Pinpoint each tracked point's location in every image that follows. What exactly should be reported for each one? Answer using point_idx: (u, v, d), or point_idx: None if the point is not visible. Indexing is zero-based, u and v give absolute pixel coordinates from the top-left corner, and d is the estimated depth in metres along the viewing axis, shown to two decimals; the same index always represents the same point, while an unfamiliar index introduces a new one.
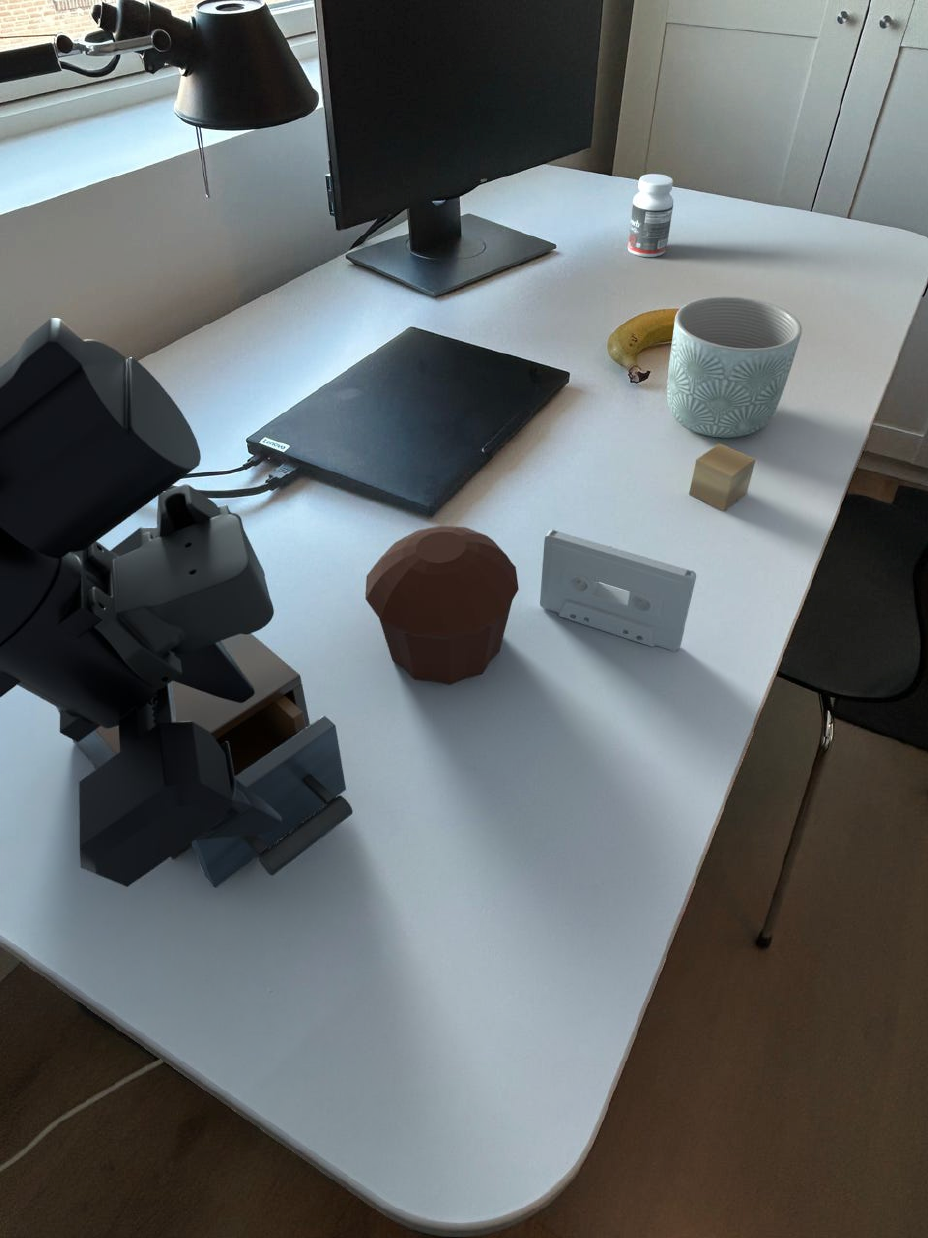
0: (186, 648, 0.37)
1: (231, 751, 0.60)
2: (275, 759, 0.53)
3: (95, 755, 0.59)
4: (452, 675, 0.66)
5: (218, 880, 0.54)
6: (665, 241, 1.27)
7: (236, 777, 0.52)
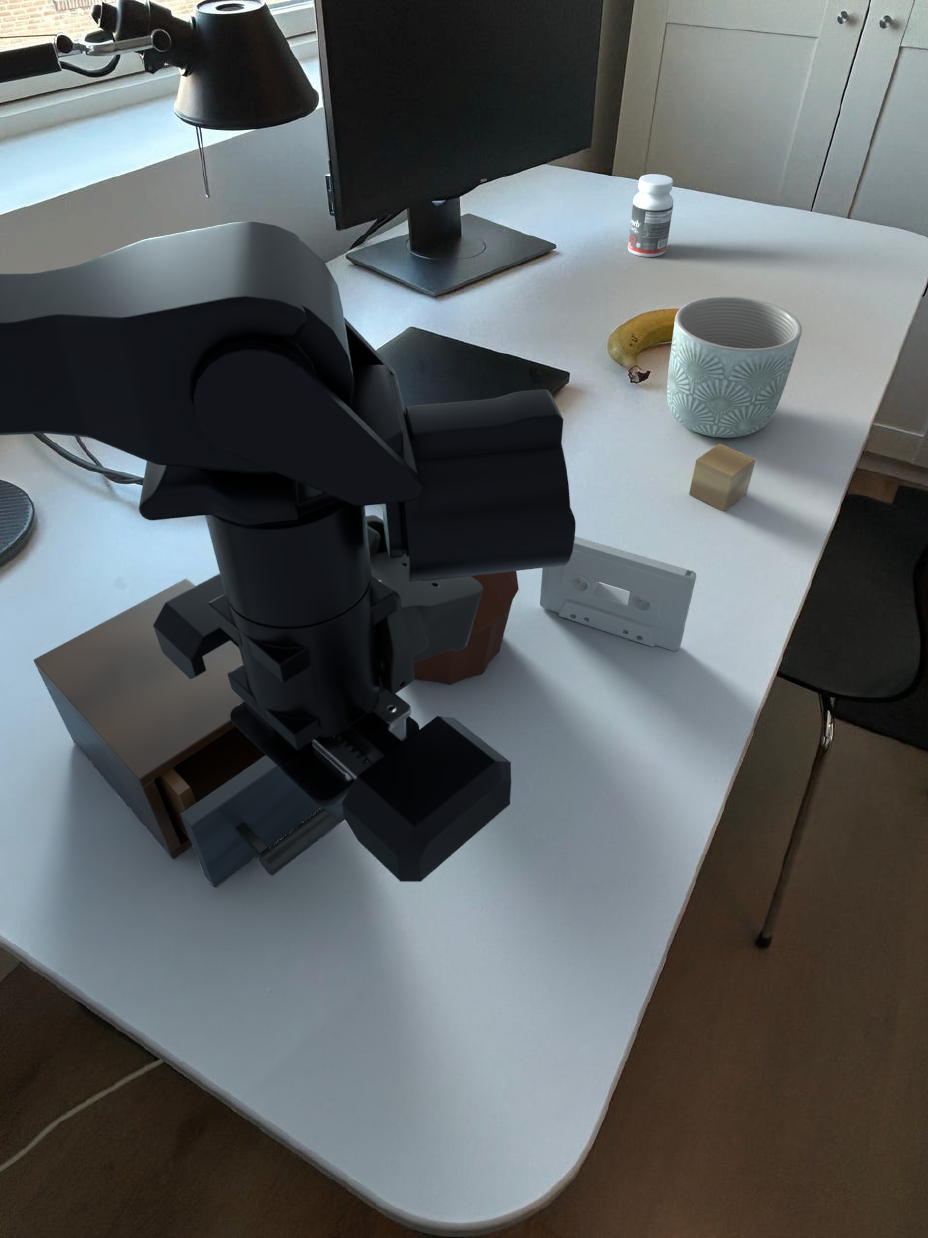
0: (420, 656, 0.39)
1: (231, 751, 0.60)
2: None
3: (95, 755, 0.59)
4: (452, 675, 0.66)
5: (218, 880, 0.54)
6: (665, 241, 1.27)
7: (236, 777, 0.52)
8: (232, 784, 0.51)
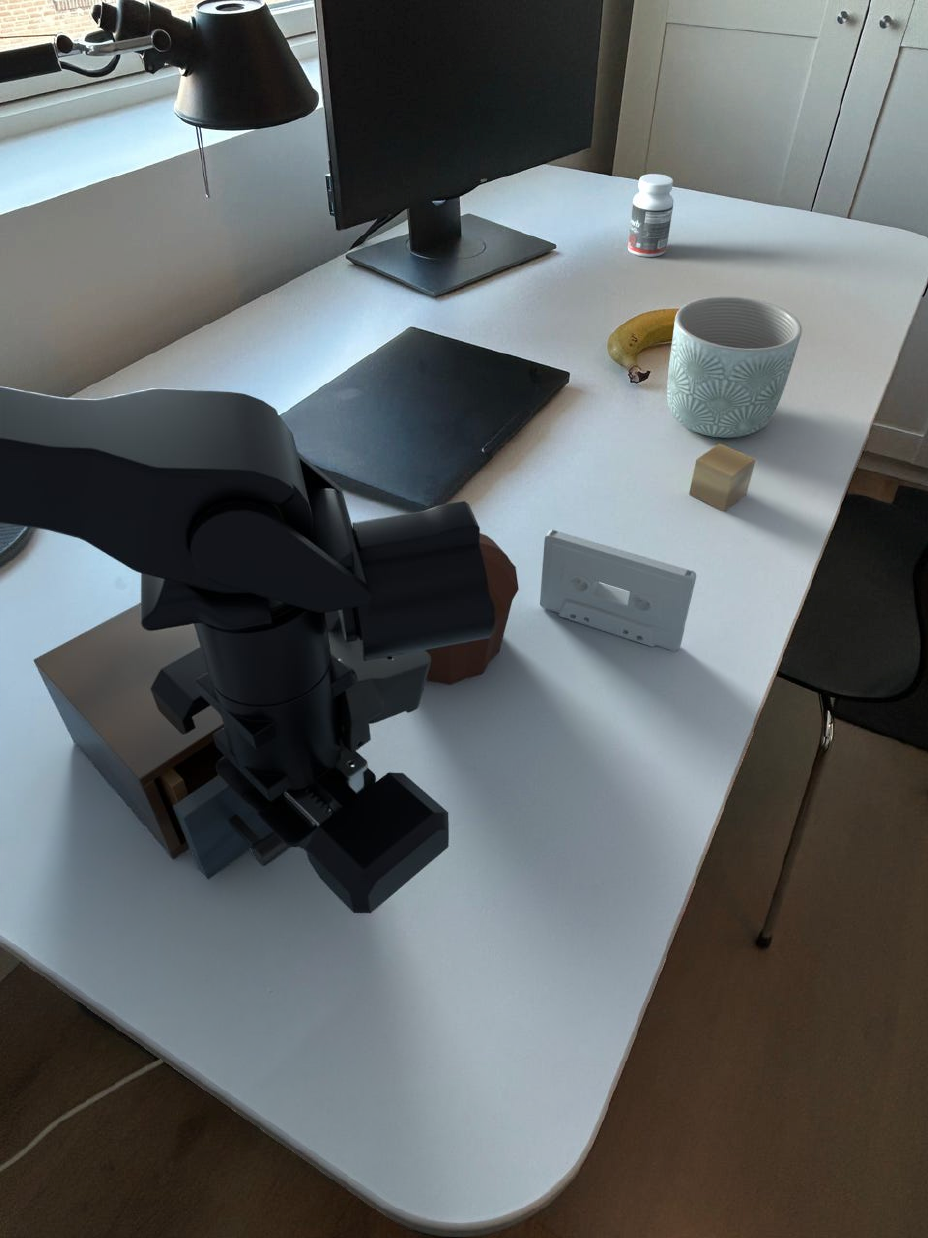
0: (376, 719, 0.46)
1: None
2: None
3: (95, 755, 0.59)
4: (452, 675, 0.66)
5: (211, 872, 0.54)
6: (665, 241, 1.27)
7: None
8: None
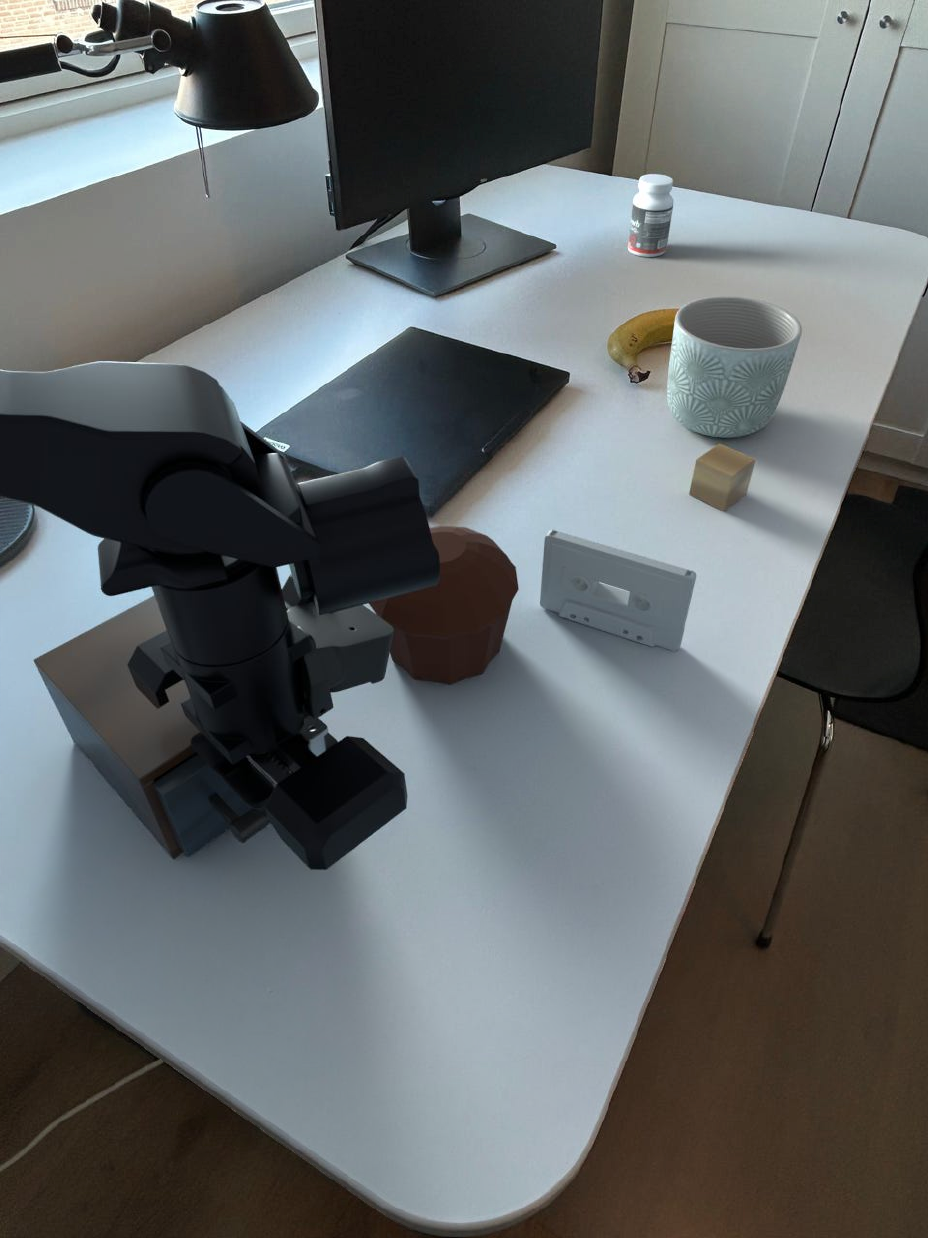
0: (338, 687, 0.47)
1: None
2: None
3: (95, 755, 0.59)
4: (452, 675, 0.66)
5: (191, 850, 0.55)
6: (665, 241, 1.27)
7: None
8: None
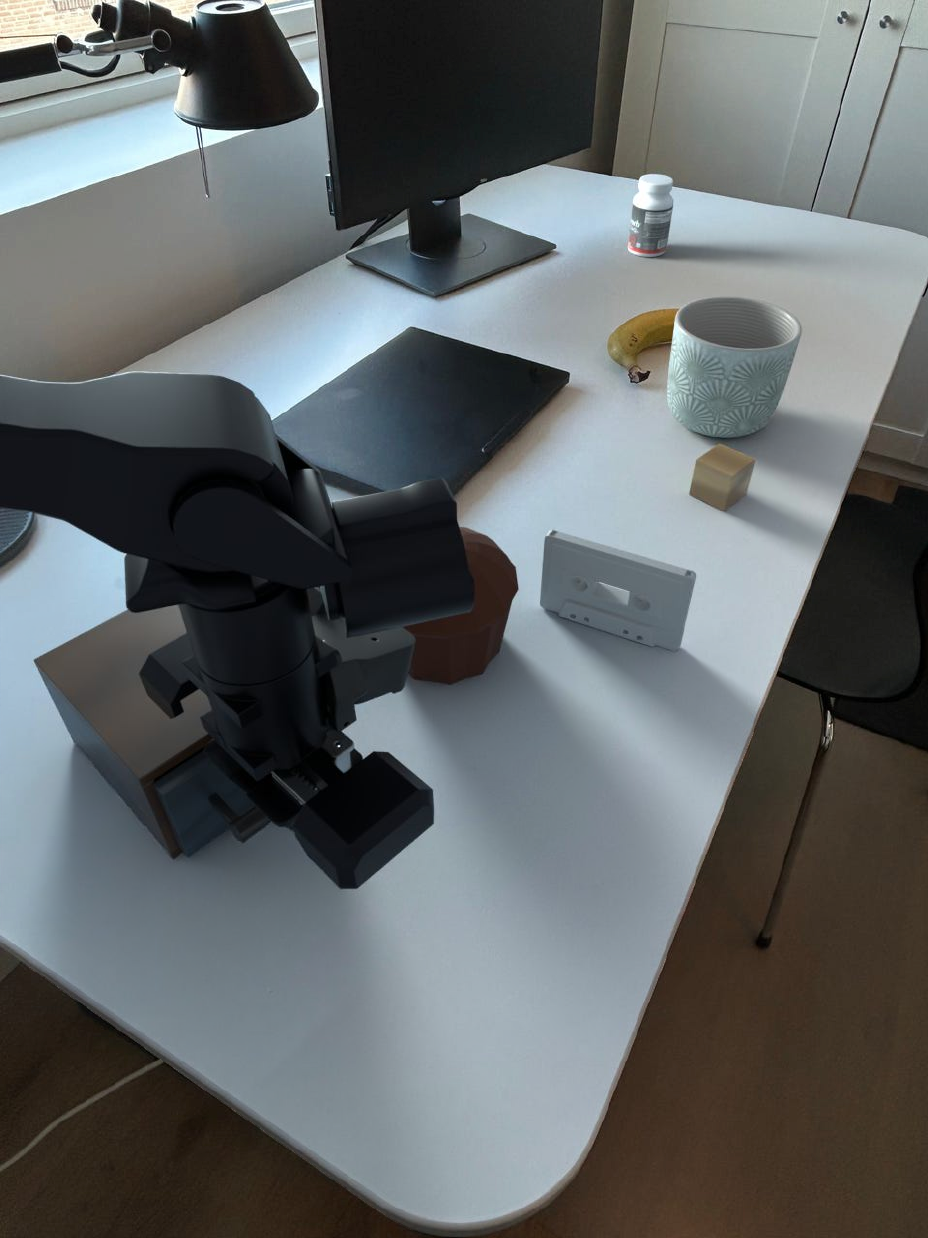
0: (361, 699, 0.47)
1: None
2: None
3: (95, 755, 0.59)
4: (452, 675, 0.66)
5: (191, 850, 0.55)
6: (665, 241, 1.27)
7: None
8: (204, 755, 0.53)
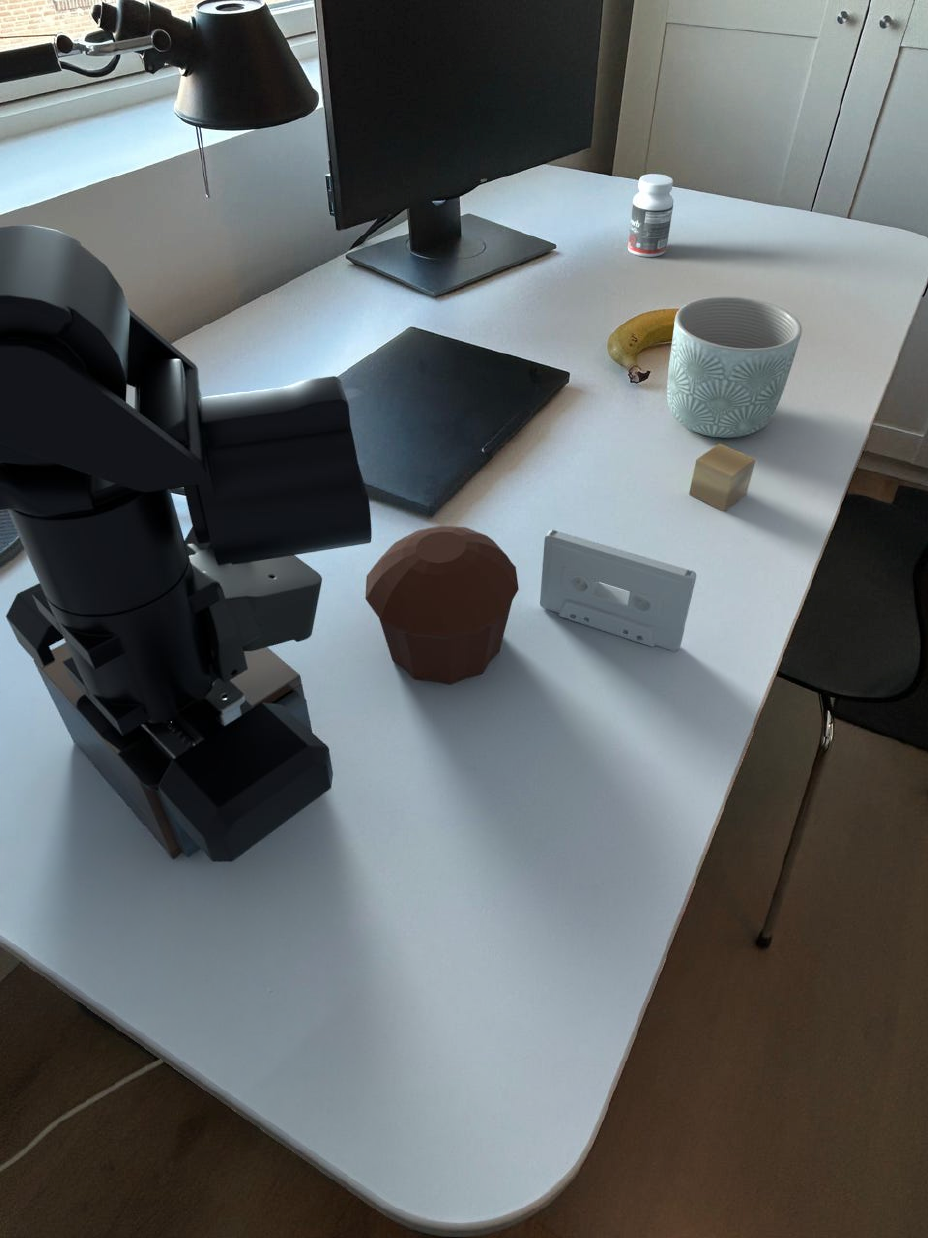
0: (254, 645, 0.40)
1: None
2: None
3: (95, 755, 0.59)
4: (452, 675, 0.66)
5: (191, 850, 0.55)
6: (665, 241, 1.27)
7: None
8: None
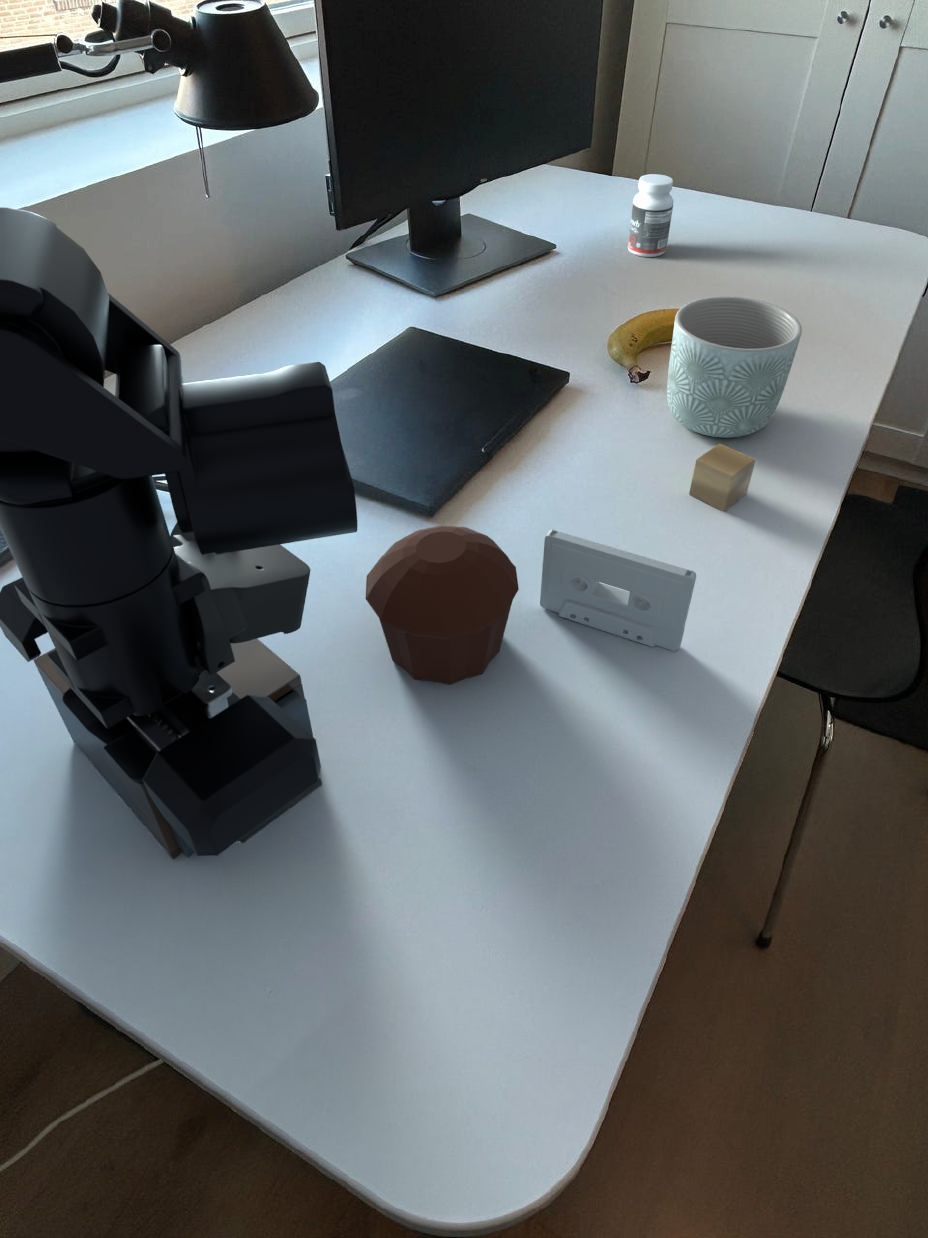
0: (242, 637, 0.40)
1: None
2: None
3: (95, 755, 0.59)
4: (452, 675, 0.66)
5: (191, 850, 0.55)
6: (665, 241, 1.27)
7: None
8: None
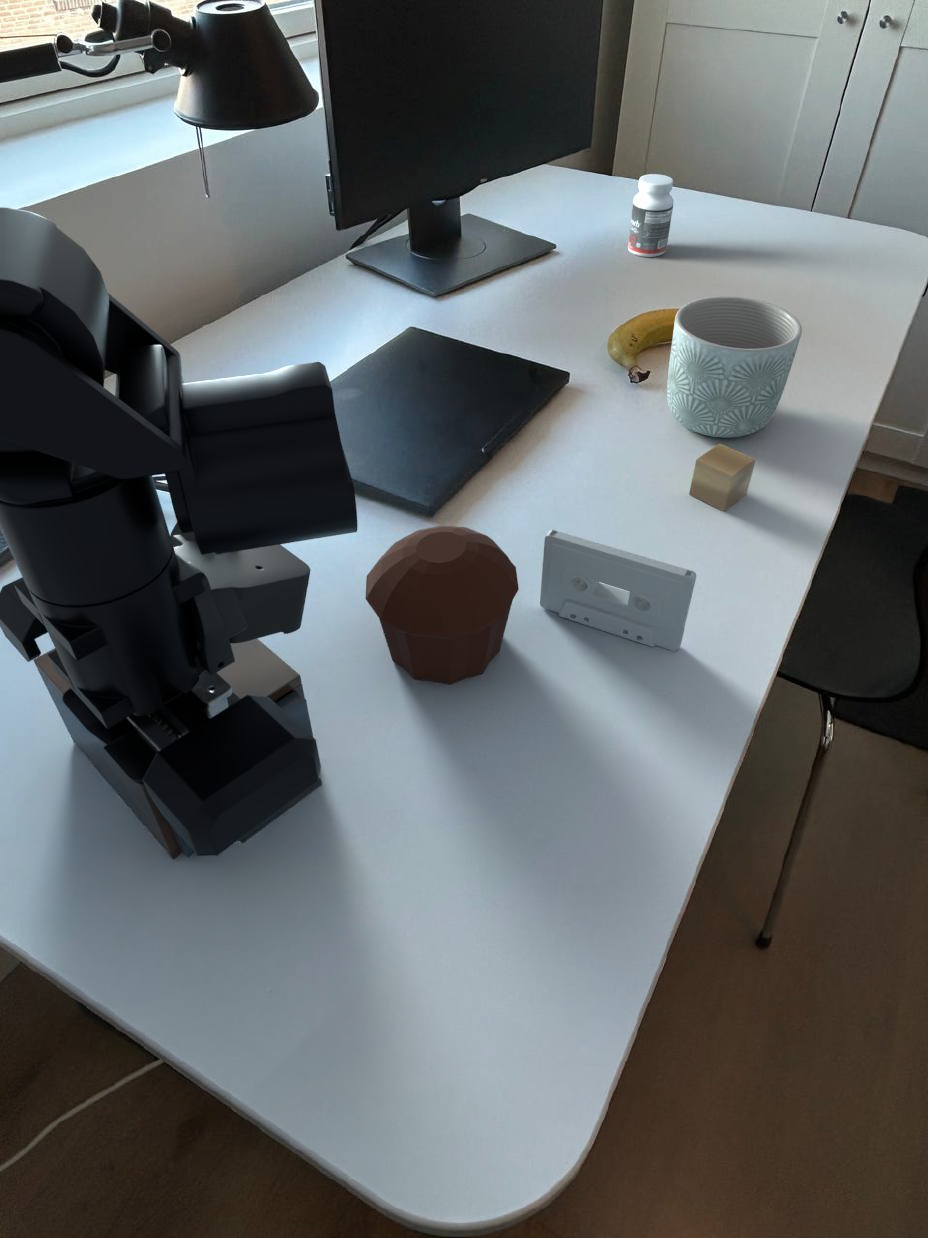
0: (242, 637, 0.40)
1: None
2: None
3: (95, 755, 0.59)
4: (452, 675, 0.66)
5: (191, 850, 0.55)
6: (665, 241, 1.27)
7: None
8: None
